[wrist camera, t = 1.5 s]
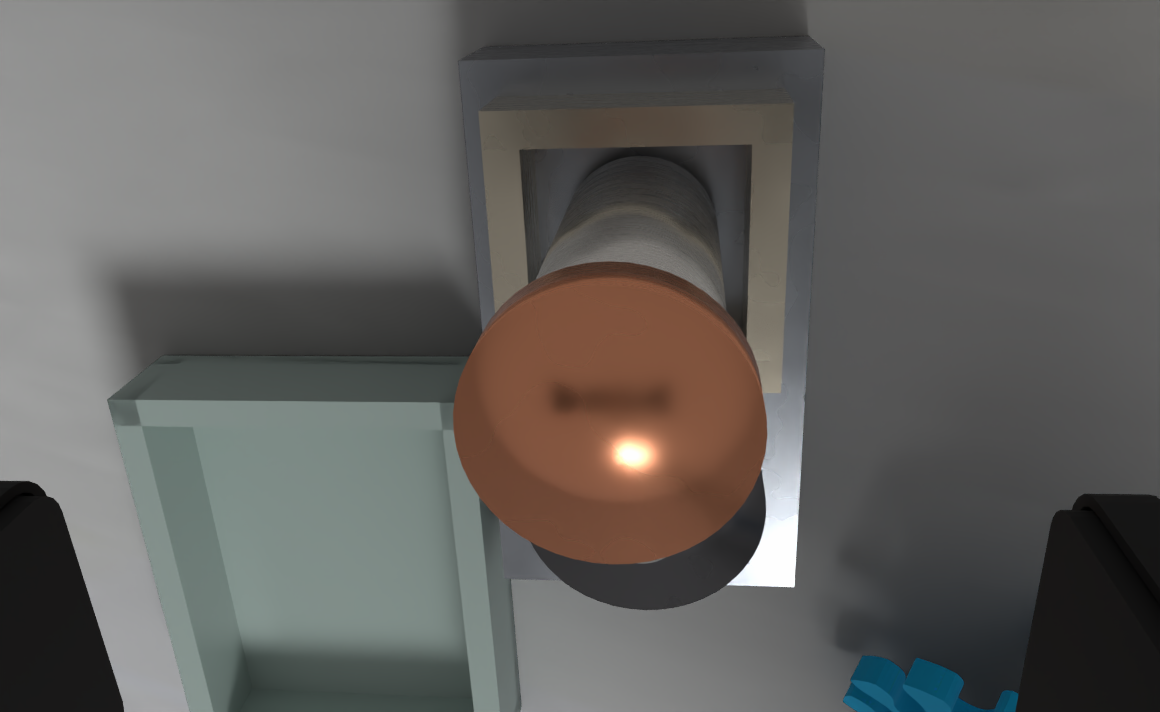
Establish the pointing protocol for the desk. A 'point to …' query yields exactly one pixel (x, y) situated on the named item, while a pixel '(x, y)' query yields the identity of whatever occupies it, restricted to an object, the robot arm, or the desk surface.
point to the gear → (912, 689)
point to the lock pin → (617, 380)
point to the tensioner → (746, 234)
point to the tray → (318, 535)
